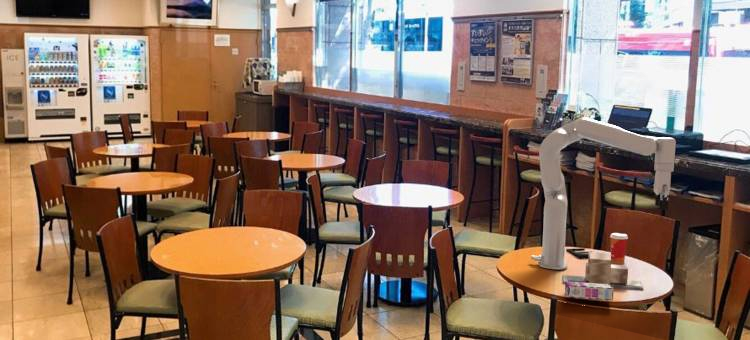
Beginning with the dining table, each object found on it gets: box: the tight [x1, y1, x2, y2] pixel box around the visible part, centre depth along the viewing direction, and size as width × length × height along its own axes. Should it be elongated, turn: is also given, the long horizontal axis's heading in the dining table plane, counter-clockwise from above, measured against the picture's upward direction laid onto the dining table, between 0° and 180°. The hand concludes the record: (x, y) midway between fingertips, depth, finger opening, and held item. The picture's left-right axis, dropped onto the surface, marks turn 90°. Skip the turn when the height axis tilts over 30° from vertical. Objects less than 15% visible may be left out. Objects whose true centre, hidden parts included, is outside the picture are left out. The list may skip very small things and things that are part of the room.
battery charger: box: [565, 247, 592, 260], centre depth 334 cm, size 13×10×4 cm
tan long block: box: [562, 251, 644, 291], centre depth 292 cm, size 31×12×12 cm, turn 77°
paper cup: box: [609, 232, 629, 264], centre depth 324 cm, size 8×8×14 cm
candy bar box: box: [564, 282, 614, 302], centre depth 272 cm, size 11×5×16 cm
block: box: [584, 262, 629, 284], centre depth 292 cm, size 16×6×6 cm, turn 77°
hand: (661, 207), depth 298 cm, fingers open, 9 cm apart
